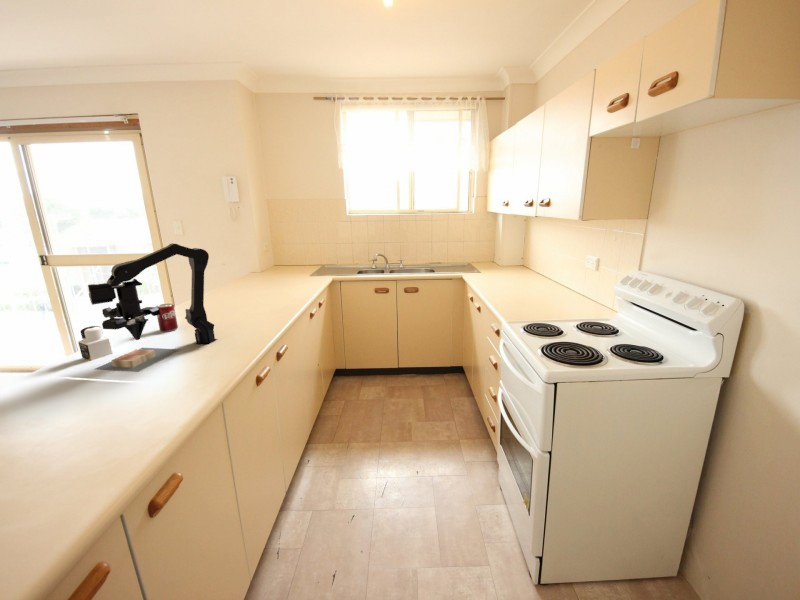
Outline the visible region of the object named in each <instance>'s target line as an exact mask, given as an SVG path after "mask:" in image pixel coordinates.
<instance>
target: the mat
mask: <svg viewBox="0 0 800 600" xmlns="http://www.w3.org/2000/svg"><path fill="white" fill-rule="evenodd" d="M138 349H139V350H154V351H155V355H156V356H155V357H153V358H151V359H149V360H147V361H145V362H143V363H141V364H139V365H137V366H135V367H133V368H129V367H113V364H112V360H111V361H109V362H107V363H105V364H102V365H101V366H98V367H96V368H94V370H97V371H98V370H99V371H114V372H115V371H118V372H119V371H120V372H121V371H122V372H133V373H134V372H135V373H136V372H137V373H139V372H141V371H143V370H145V369H147V368H149V367H151V366H153V365H154V364H156V363H158V362H160V361H162V360H164V359H166V358H168V357H170V356H173V355H174V354H176V353H178V352H179V351H182V349H181V348H162V347H161V348H159V347H157V348H156V347H141V348H138Z"/></svg>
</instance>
